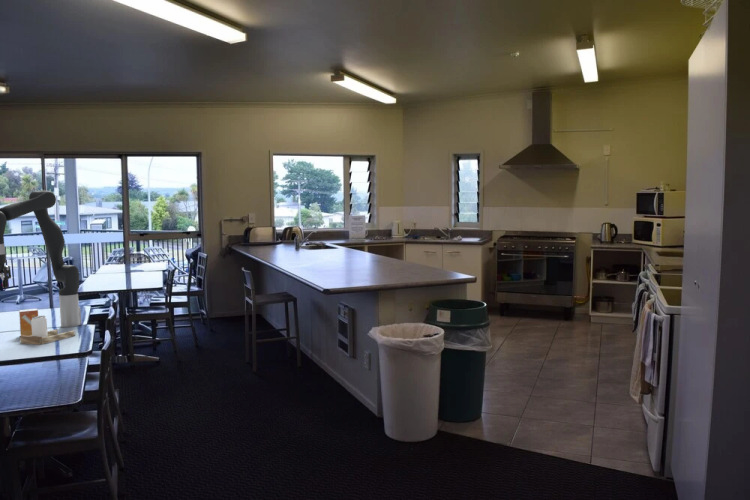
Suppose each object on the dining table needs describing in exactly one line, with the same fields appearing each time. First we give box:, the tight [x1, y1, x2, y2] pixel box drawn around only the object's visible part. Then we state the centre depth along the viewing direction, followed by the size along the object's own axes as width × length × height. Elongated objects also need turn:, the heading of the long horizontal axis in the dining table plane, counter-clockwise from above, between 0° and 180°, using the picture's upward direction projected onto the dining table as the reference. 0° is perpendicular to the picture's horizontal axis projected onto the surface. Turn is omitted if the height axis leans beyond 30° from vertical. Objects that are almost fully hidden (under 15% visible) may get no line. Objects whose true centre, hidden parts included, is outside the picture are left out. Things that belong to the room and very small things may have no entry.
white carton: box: [31, 315, 48, 338], centre depth 283 cm, size 6×6×12 cm
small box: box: [18, 308, 39, 336], centre depth 298 cm, size 8×6×13 cm
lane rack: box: [19, 329, 75, 346], centre depth 287 cm, size 20×12×4 cm, turn 160°
